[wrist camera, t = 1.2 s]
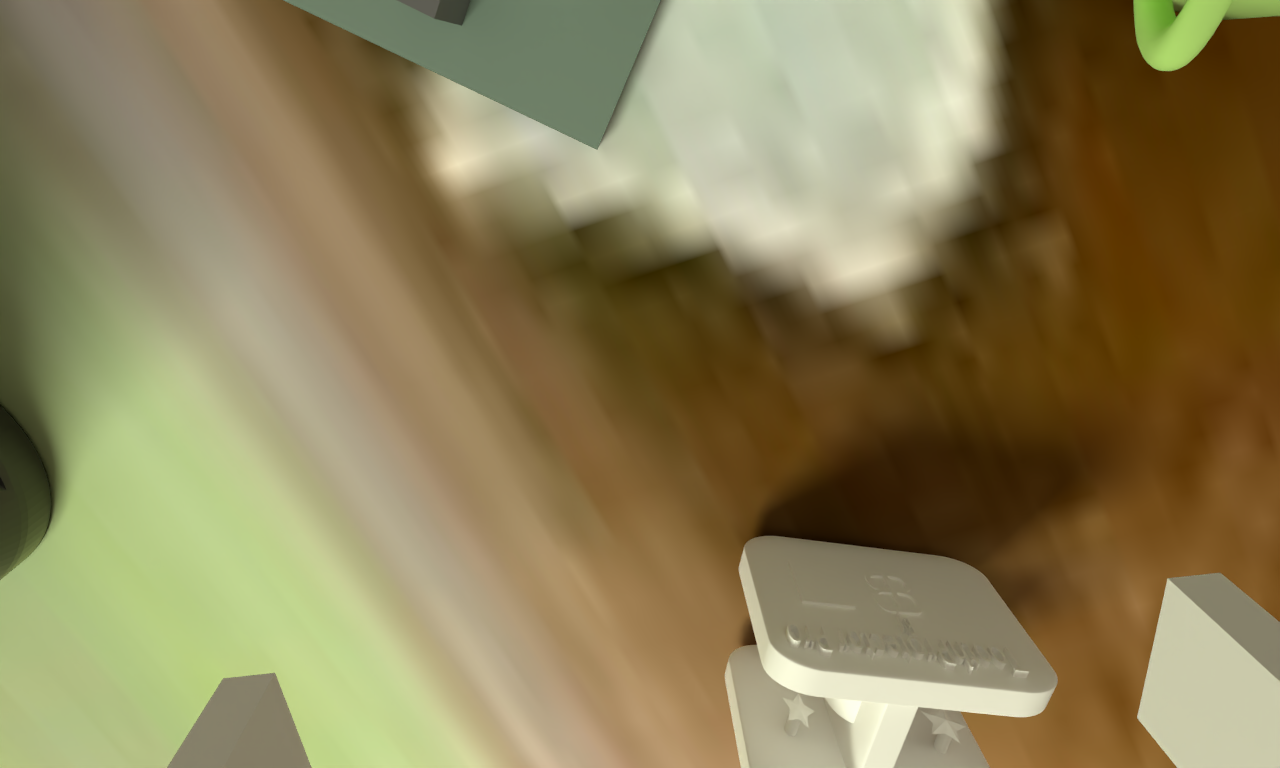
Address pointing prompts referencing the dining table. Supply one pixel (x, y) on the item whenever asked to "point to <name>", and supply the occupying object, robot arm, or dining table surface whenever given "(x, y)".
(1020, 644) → the cable organizer
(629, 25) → the heatsink board
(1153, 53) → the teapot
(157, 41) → the dining table surface
